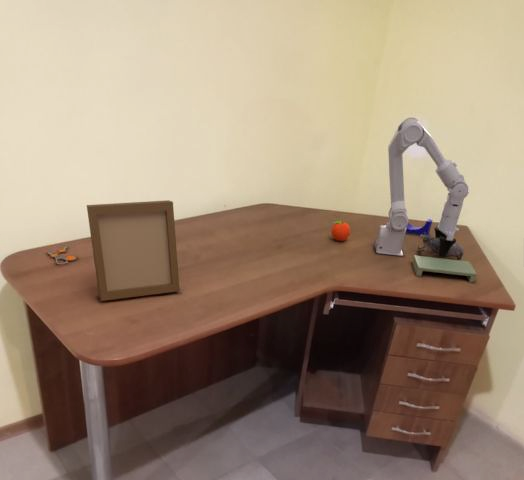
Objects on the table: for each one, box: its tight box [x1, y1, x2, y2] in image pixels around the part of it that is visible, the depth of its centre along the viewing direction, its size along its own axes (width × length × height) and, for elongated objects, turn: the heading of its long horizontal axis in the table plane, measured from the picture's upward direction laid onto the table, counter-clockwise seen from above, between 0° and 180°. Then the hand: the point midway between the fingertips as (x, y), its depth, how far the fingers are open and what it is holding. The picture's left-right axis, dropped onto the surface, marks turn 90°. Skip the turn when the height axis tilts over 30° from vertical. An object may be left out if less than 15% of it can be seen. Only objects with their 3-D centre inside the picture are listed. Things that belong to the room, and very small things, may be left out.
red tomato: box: [328, 220, 351, 242], centre depth 191 cm, size 8×7×7 cm
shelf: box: [411, 254, 478, 283], centre depth 175 cm, size 19×10×3 cm, turn 85°
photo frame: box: [86, 199, 181, 302], centre depth 143 cm, size 15×22×25 cm
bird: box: [417, 234, 465, 261], centre depth 185 cm, size 5×16×8 cm, turn 79°
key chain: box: [46, 245, 77, 265], centre depth 163 cm, size 13×7×1 cm, turn 31°
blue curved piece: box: [405, 218, 433, 236], centre depth 204 cm, size 12×4×6 cm, turn 58°
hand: (439, 252), depth 186 cm, fingers open, 7 cm apart
